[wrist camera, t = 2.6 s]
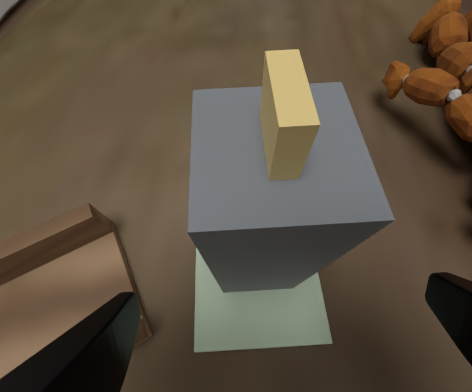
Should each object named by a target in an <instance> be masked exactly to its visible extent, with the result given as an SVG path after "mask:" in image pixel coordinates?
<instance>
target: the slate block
mask: <svg viewBox="0 0 472 392" xmlns="http://www.w3.org/2000/svg"><path fill="white" fill-rule="evenodd" d="M394 220H395V219H394V217H393V214H392V211H391V209H390V206H389V204H388V201H387V198H386V196H385V193H384V191H383V188H382V186H381V183H380V180H379V178H378V175H377V173H376V170H375V167H374V165H373V162H372V160H371V157H370V154H369V152H368V149H367V147H366V144H365V141H364V139H363V136H362V134H361V131H360V128H359V126H358V123H357V121H356V118H355V116H354V113H353V110H352V108H351V105H350V103H349V100H348V97H347V95H346V92H345V90H344V87H343V84H342V82H333V83H314V84H309V83H308V80H307V76H306V73H305V70H304V66H303V63H302V59H301V56H300V52H299V49H296V50H277V51H265V59H264V70H263V81H262V86H259V87H241V88H222V89H204V90H193V106H192V132H191V158H190V184H189V210H188V234H189V236H190V237H191V239H192V241H193V242H194V244H195V246H196V247H197V249H198V251H199V253H200V254H201V256H202V258H203V259H204V261H205V263H206V264H207V266H208V268H209V269H210V271H211V273H212V275H213V276H214V278H215V280H216V281H217V283H218V285H219V286H220V288H221V290H222V291H223V293H227V292H243V291H259V290H276V289H292V288H294V287H296V286H297V285H299V284H300V283H302V282H303V281H305V280H306V279H308V278H309V277H311V276H312V275H314V274H315V273H317V272H318V271H320V270H321V269H323V268H324V267H326V266H327V265H329V264H330V263H332V262H333V261H335V260H336V259H338V258H339V257H341V256H342V255H344V254H345V253H347V252H348V251H350V250H351V249H353V248H354V247H356V246H357V245H359V244H360V243H362V242H363V241H365V240H366V239H368V238H369V237H370V236H372V235H373V234H375V233H376V232H378V231H379V230H381V229H382V228H384V227H385V226H387V225H388V224H390V223H391V222H393V221H394Z"/></svg>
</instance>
